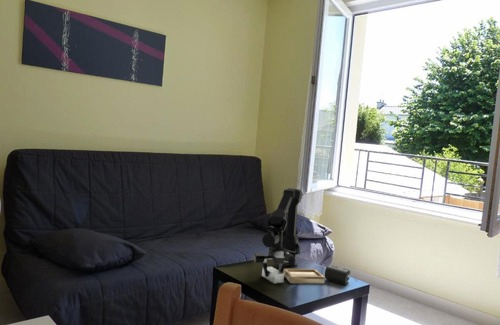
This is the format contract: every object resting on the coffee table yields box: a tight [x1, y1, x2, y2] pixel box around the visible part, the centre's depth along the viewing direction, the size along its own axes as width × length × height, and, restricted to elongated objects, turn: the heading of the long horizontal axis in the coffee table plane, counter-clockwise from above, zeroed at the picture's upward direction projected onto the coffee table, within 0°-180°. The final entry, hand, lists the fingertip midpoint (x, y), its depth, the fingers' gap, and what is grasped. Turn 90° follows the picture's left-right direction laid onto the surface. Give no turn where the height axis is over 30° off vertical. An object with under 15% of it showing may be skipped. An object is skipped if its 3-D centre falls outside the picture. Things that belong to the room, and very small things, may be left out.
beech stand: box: [282, 268, 326, 284], centre depth 180 cm, size 11×16×3 cm
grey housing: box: [261, 266, 285, 284], centre depth 177 cm, size 10×5×4 cm, turn 32°
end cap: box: [324, 265, 351, 286], centre depth 180 cm, size 10×7×7 cm
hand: (272, 276), depth 177 cm, fingers closed on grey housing, 6 cm apart
